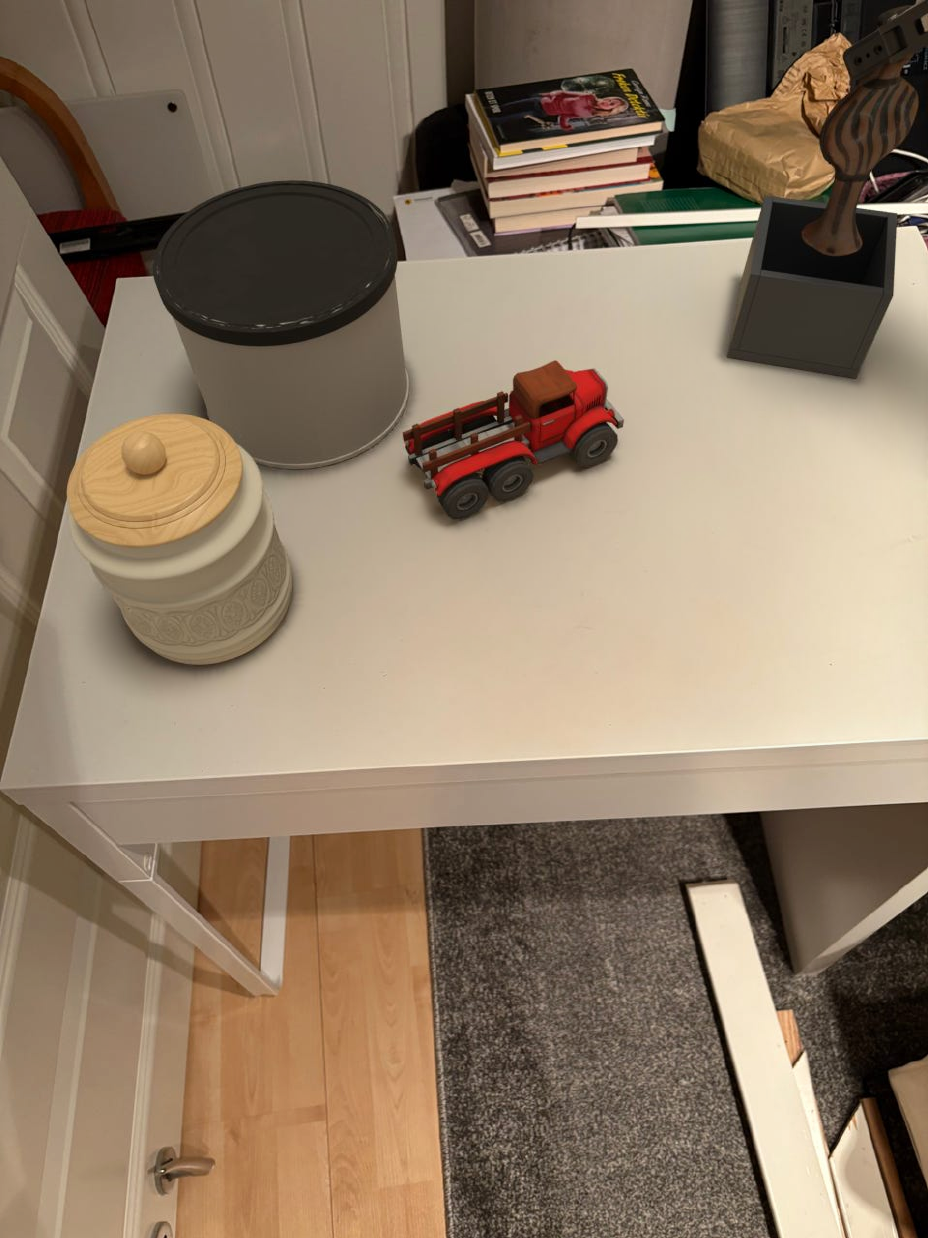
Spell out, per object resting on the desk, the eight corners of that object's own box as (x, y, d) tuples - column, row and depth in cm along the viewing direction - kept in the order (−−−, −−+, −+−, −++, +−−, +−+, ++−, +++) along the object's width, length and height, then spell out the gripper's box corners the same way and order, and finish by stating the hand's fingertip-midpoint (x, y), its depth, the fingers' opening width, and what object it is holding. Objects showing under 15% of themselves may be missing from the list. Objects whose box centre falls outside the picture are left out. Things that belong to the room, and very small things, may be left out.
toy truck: (626, 452, 76) (640, 380, 69) (438, 530, 72) (433, 461, 65) (579, 395, 80) (587, 321, 73) (398, 466, 76) (389, 394, 69)
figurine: (798, 264, 74) (875, 28, 59) (773, 229, 77) (841, -5, 62) (880, 249, 75) (976, 12, 60) (852, 215, 77) (939, -20, 62)
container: (180, 463, 77) (118, 323, 64) (234, 320, 87) (190, 173, 74) (393, 478, 75) (373, 336, 63) (424, 330, 85) (412, 182, 73)
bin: (861, 297, 86) (897, 212, 78) (855, 378, 80) (893, 295, 73) (741, 279, 88) (764, 194, 80) (726, 357, 82) (750, 273, 75)
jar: (119, 676, 66) (9, 529, 51) (140, 538, 73) (48, 373, 58) (293, 662, 66) (235, 512, 51) (298, 525, 73) (248, 358, 58)
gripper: (1166, -210, 51) (897, -30, 66) (1049, -138, 46) (787, 40, 61) (1199, -75, 53) (932, 69, 69) (1091, 8, 48) (828, 144, 64)
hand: (865, 55), depth 65 cm, fingers closed on figurine, 3 cm apart
